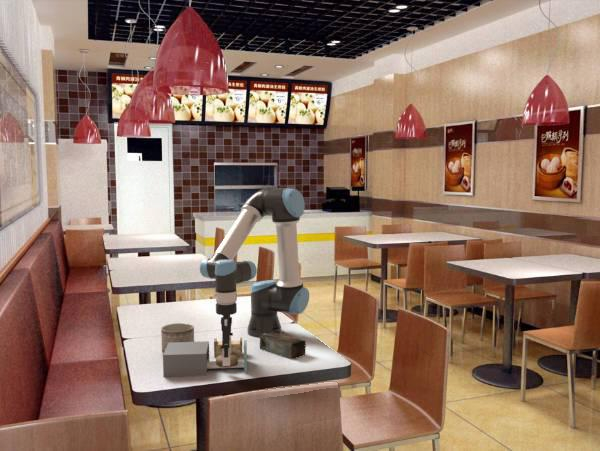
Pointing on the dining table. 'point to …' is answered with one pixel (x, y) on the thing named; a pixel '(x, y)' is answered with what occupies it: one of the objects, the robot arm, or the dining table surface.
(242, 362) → the tray
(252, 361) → the dining table surface
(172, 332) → the planter
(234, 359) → the walnut disc
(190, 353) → the housing
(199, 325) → the dining table surface
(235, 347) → the oak block
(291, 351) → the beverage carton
